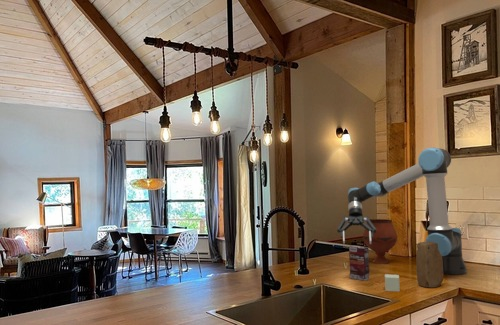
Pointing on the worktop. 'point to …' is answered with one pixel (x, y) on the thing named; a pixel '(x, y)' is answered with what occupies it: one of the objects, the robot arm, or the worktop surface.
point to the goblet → (381, 239)
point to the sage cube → (392, 283)
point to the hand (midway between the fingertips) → (357, 242)
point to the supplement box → (359, 262)
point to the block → (429, 264)
